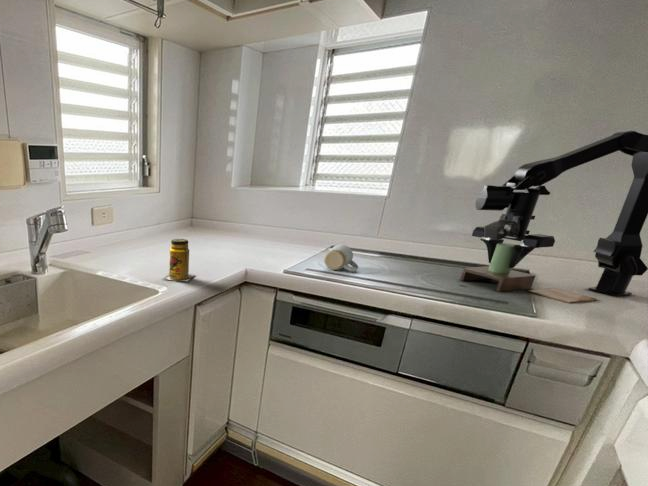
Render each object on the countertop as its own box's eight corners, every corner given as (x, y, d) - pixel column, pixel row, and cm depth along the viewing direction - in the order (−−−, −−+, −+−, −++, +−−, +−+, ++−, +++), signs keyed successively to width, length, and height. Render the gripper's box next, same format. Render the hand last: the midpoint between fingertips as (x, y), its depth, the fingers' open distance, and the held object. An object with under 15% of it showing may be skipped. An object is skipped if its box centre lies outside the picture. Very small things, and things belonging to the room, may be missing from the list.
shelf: (489, 277, 128) (493, 265, 126) (530, 288, 117) (535, 275, 116) (459, 280, 125) (463, 267, 124) (499, 291, 114) (504, 278, 113)
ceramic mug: (320, 269, 138) (325, 246, 134) (327, 264, 143) (332, 242, 140) (354, 274, 132) (359, 251, 128) (360, 269, 137) (365, 247, 134)
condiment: (164, 279, 125) (165, 241, 120) (173, 273, 132) (174, 236, 128) (187, 282, 123) (188, 242, 118) (194, 275, 130) (196, 238, 125)
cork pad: (553, 289, 117) (554, 287, 117) (596, 300, 108) (597, 298, 108) (527, 291, 115) (528, 290, 114) (569, 303, 106) (570, 301, 105)
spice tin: (496, 268, 122) (505, 242, 119) (513, 273, 118) (523, 246, 115) (483, 269, 121) (492, 243, 118) (500, 274, 117) (510, 246, 114)
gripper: (465, 208, 119) (450, 260, 125) (535, 216, 103) (513, 275, 109) (494, 207, 122) (478, 258, 128) (566, 215, 105) (543, 273, 111)
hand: (500, 265), depth 119 cm, fingers open, 6 cm apart
